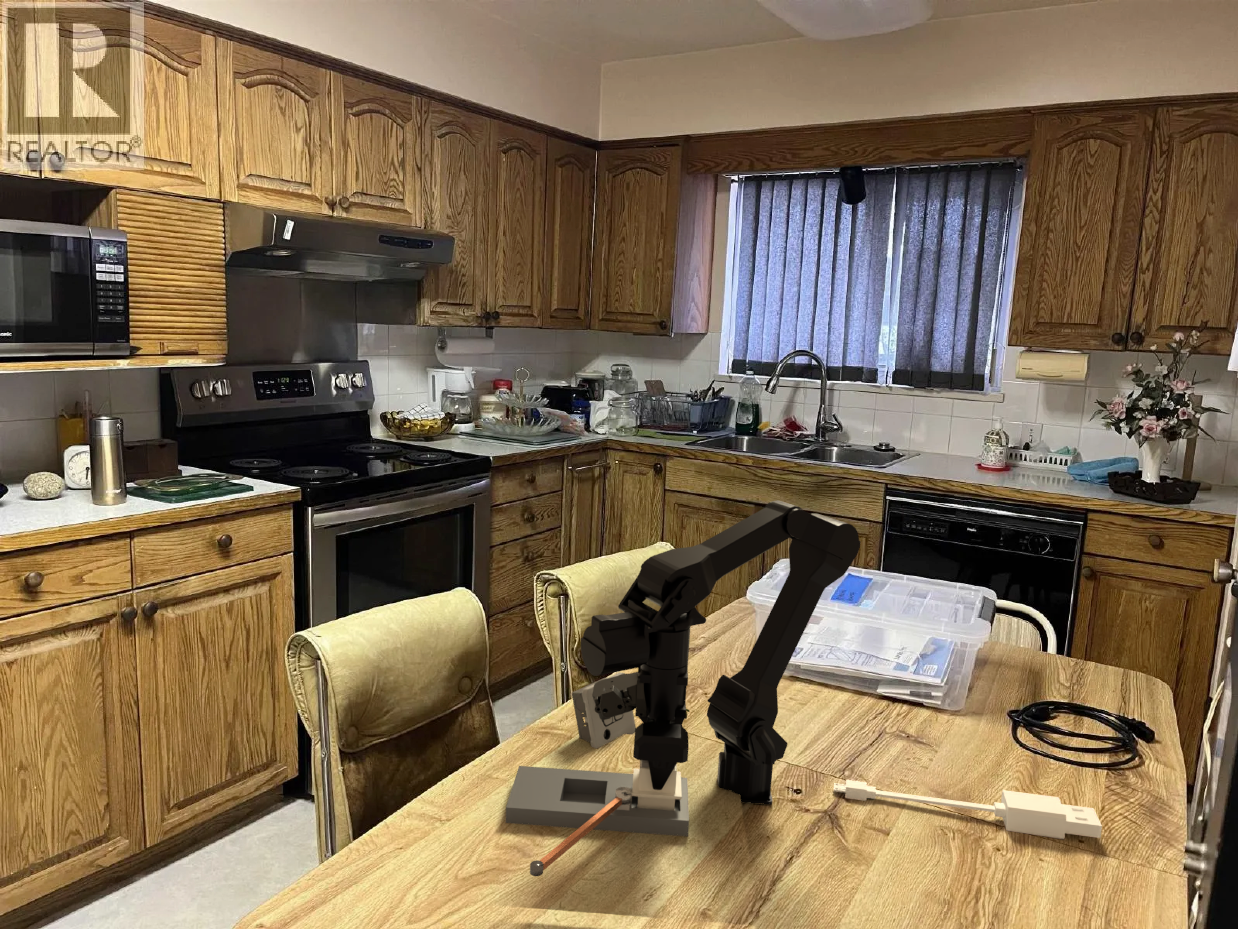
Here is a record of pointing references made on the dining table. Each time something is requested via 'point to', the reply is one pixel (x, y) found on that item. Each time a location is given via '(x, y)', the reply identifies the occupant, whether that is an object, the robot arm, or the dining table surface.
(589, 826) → the copper link
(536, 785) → the grey socket base
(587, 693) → the electrical switch
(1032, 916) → the dining table surface
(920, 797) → the charging cable
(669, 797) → the plug
